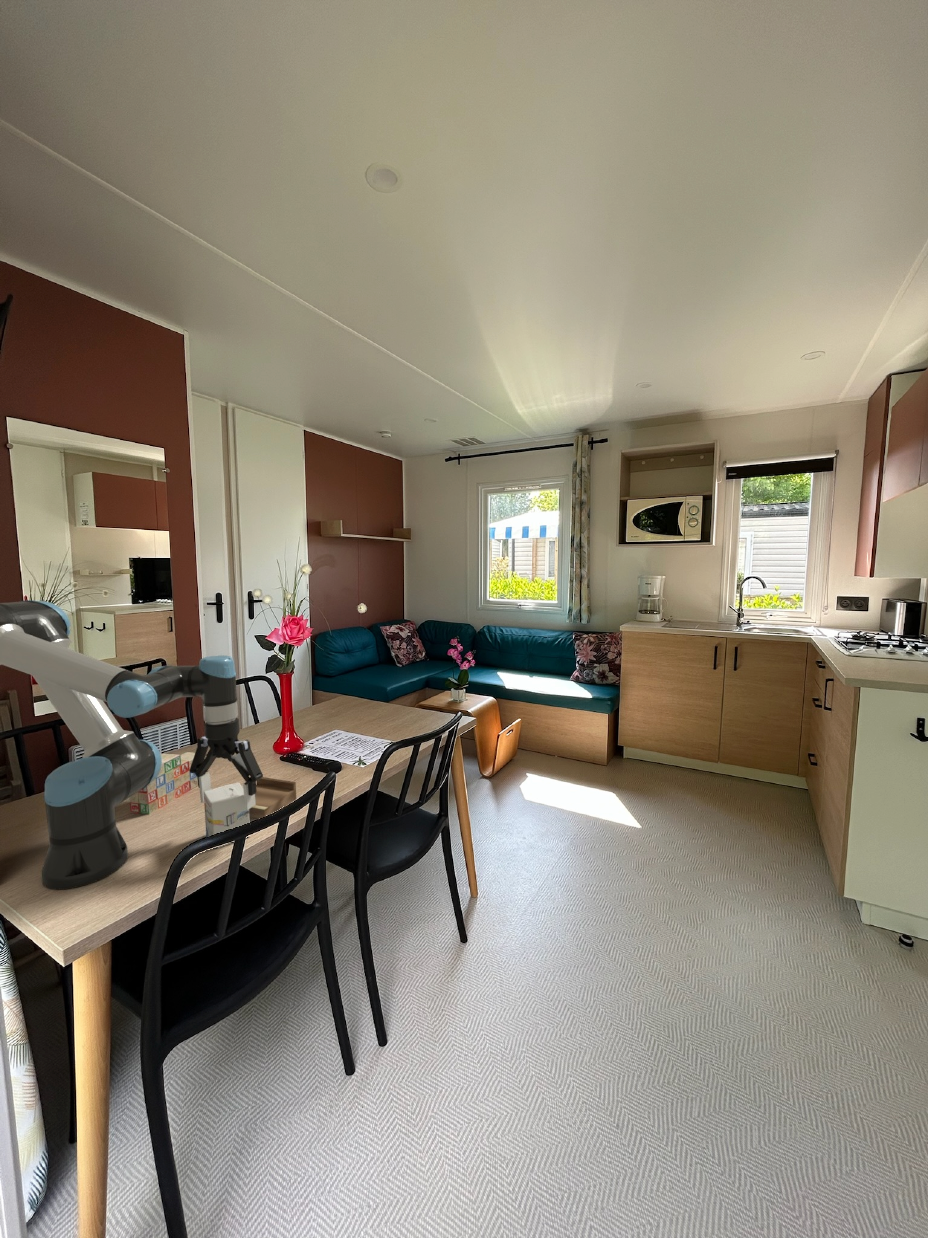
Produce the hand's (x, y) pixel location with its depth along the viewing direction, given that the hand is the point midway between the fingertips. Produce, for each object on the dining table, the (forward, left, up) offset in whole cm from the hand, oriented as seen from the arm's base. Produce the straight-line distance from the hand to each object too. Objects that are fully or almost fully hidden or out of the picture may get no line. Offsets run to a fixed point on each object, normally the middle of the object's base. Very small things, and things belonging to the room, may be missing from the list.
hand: (228, 803), depth 120 cm
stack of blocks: (+12, +34, -9) cm, 37 cm away
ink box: (0, 0, -9) cm, 9 cm away
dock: (+15, +3, -8) cm, 18 cm away
